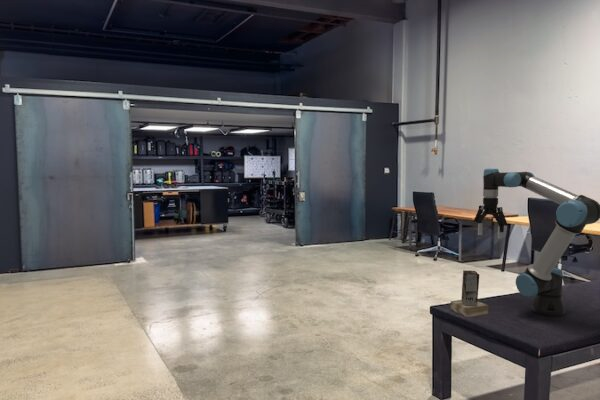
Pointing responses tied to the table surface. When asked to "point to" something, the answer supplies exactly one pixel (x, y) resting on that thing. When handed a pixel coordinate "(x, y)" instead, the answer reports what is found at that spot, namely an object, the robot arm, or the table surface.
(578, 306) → the table surface
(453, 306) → the birch block
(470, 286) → the coffee box
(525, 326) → the table surface
